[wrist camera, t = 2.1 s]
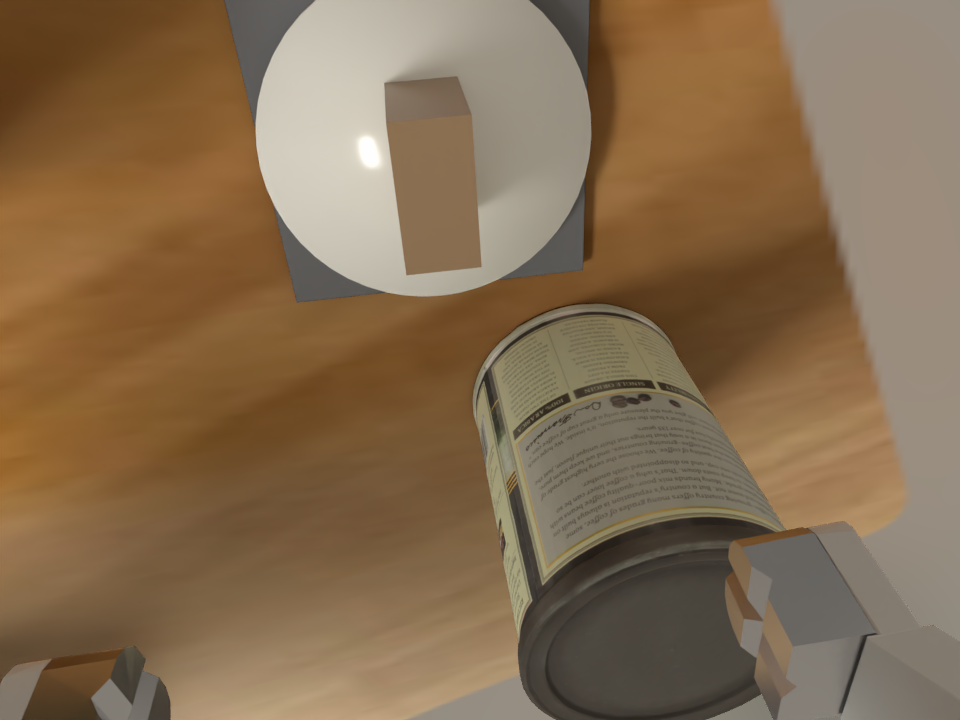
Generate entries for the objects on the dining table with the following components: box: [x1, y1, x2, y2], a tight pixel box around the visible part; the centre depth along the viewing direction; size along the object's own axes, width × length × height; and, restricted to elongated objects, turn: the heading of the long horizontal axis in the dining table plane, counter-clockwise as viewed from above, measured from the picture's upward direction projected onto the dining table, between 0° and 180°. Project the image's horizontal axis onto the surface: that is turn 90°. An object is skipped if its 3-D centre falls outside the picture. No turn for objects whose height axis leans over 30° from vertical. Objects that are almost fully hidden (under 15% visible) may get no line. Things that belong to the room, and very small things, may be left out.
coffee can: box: [473, 304, 786, 720], centre depth 29 cm, size 10×10×14 cm
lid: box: [256, 0, 591, 297], centre depth 25 cm, size 12×12×5 cm
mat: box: [224, 0, 589, 303], centre depth 27 cm, size 12×12×1 cm
